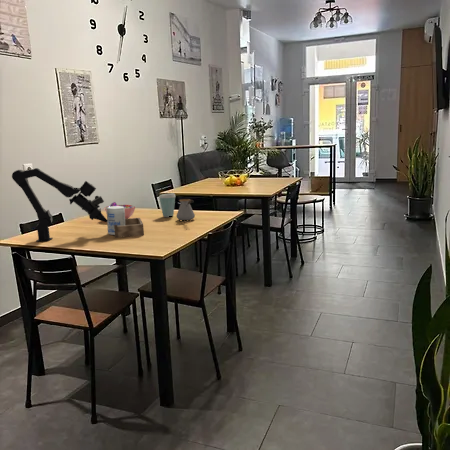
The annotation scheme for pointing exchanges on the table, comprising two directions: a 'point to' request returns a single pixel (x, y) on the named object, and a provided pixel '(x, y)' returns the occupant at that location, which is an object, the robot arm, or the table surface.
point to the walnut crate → (130, 228)
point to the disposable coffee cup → (167, 204)
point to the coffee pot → (185, 210)
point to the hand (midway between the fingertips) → (106, 221)
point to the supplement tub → (115, 218)
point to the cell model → (128, 209)
